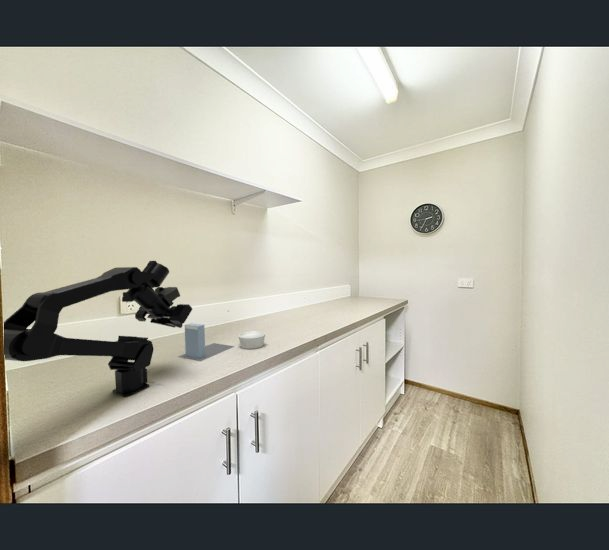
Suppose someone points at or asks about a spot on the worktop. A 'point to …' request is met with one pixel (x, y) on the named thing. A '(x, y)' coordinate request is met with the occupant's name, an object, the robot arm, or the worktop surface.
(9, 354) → the robot arm
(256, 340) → the ramekin
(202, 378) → the worktop surface
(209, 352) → the mat
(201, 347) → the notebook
